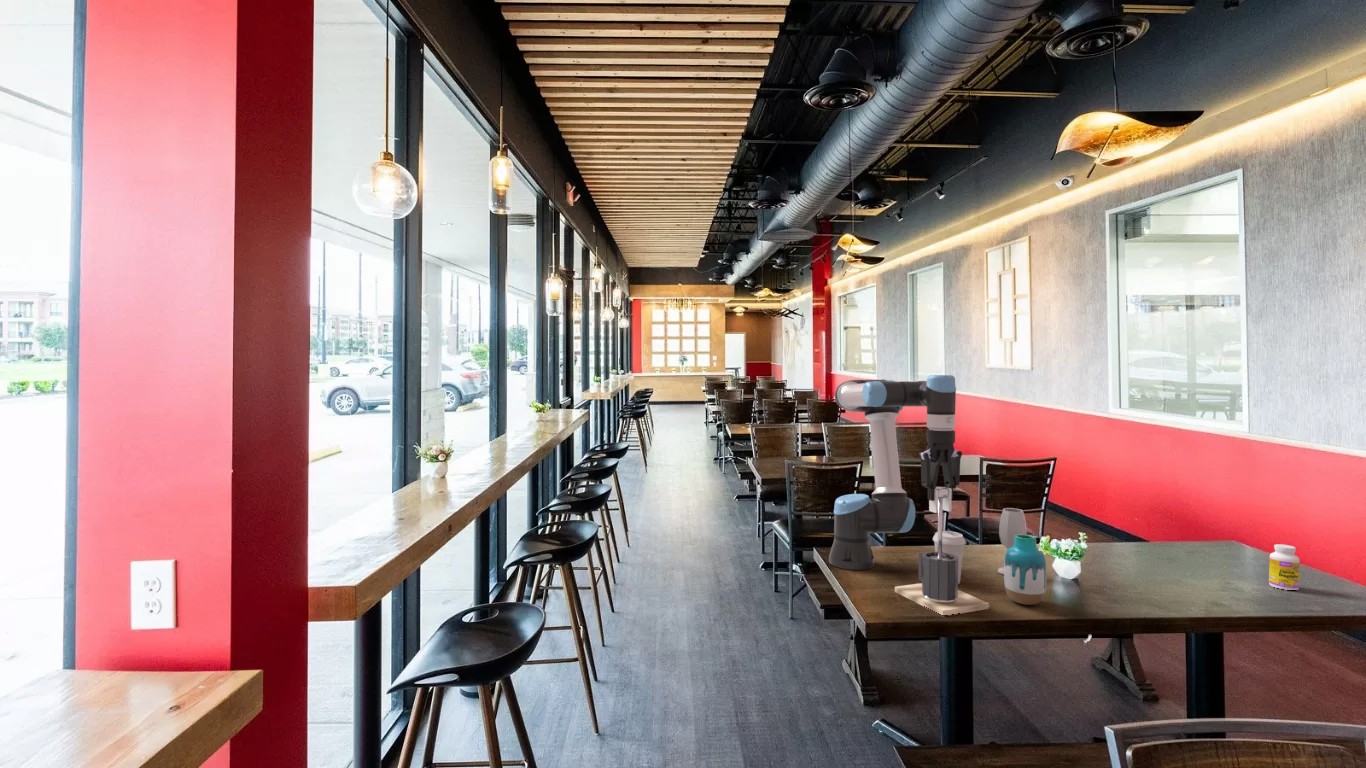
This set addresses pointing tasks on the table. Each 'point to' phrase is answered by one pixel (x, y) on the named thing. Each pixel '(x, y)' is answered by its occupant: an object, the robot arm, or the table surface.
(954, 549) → the coffee cup
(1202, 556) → the table surface
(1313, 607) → the table surface
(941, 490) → the plunger
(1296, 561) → the supplement bottle
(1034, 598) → the vase
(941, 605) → the serving board
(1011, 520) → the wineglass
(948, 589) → the fluted grey tumbler
